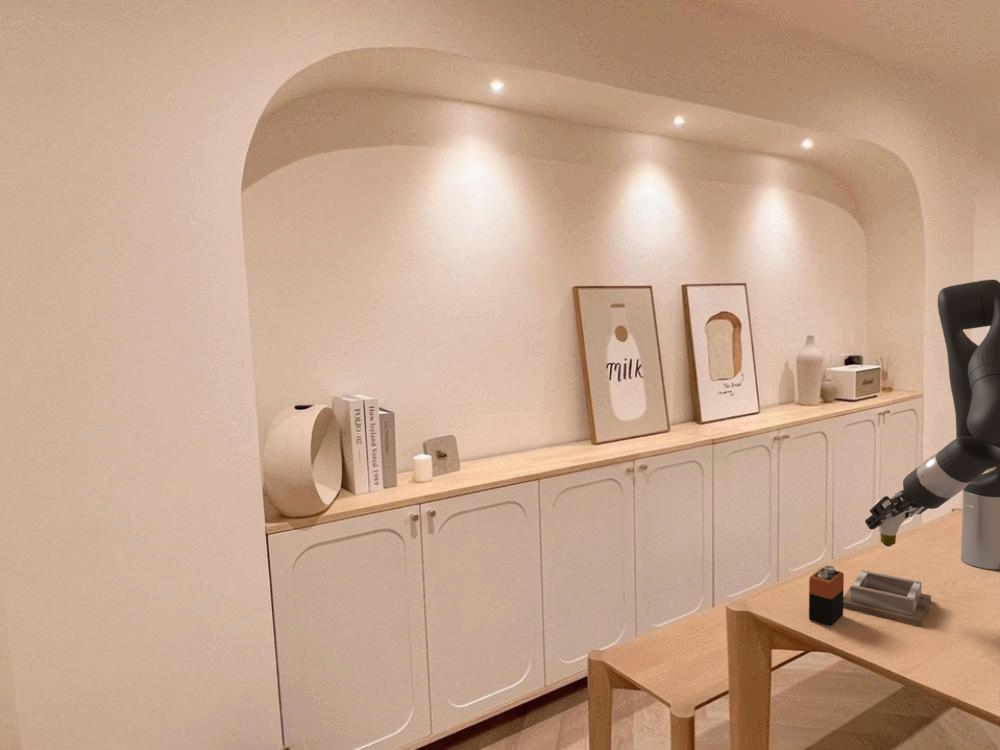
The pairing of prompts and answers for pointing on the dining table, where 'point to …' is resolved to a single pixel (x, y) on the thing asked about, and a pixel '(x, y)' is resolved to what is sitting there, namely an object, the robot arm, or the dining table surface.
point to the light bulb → (890, 528)
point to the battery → (826, 595)
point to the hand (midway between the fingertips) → (880, 523)
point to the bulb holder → (888, 597)
